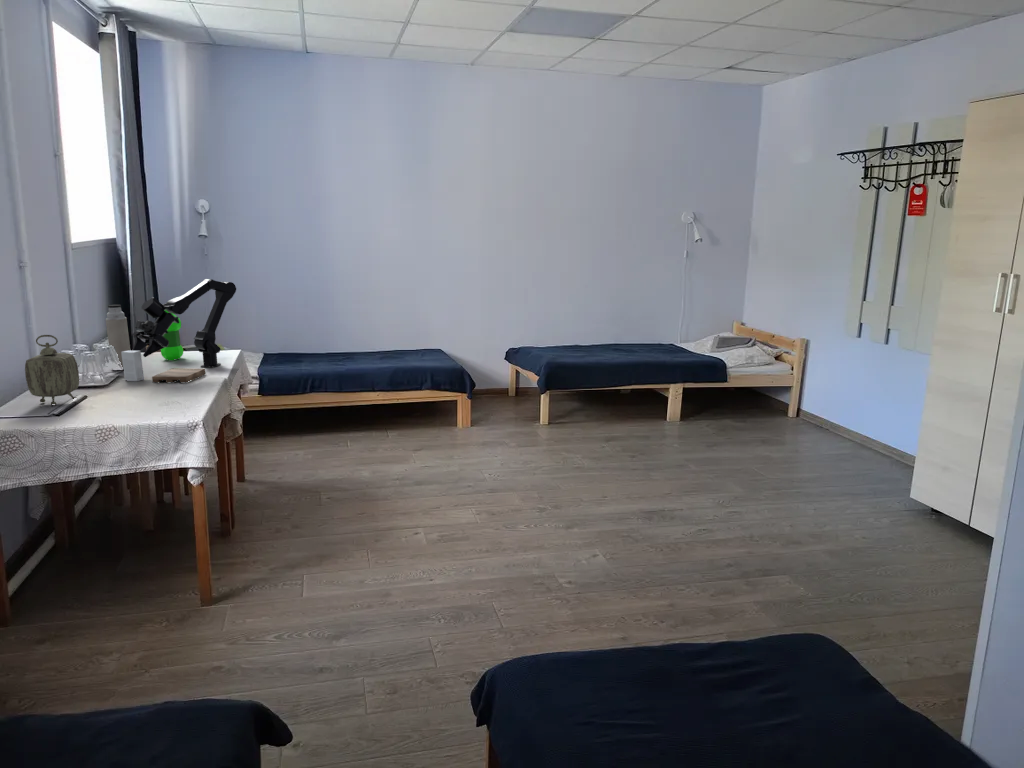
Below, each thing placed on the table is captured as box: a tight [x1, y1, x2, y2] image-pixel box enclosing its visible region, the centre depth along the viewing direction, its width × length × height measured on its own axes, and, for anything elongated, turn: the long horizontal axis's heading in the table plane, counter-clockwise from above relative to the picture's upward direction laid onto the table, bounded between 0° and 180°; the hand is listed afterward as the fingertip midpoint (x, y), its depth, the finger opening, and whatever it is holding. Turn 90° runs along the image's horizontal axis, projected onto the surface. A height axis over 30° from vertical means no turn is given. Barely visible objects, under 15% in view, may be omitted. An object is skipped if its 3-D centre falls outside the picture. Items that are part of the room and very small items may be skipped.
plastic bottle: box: [160, 310, 184, 361], centre depth 341 cm, size 10×10×25 cm
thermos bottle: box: [105, 304, 131, 367], centre depth 321 cm, size 8×8×28 cm
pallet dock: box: [151, 367, 206, 383], centre depth 304 cm, size 16×14×2 cm
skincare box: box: [121, 349, 145, 382], centre depth 301 cm, size 6×4×12 cm
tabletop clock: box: [24, 334, 80, 406], centre depth 262 cm, size 14×9×25 cm, turn 100°
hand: (138, 355), depth 302 cm, fingers open, 9 cm apart
